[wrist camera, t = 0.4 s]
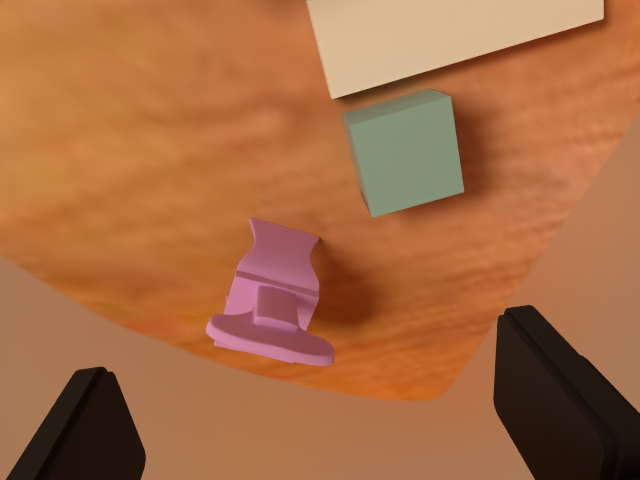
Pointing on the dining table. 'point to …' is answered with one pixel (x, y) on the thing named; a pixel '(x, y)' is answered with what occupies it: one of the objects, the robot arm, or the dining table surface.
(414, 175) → the sage green cube
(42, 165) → the dining table surface
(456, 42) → the post block
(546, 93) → the dining table surface
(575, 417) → the robot arm
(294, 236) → the toy chair
